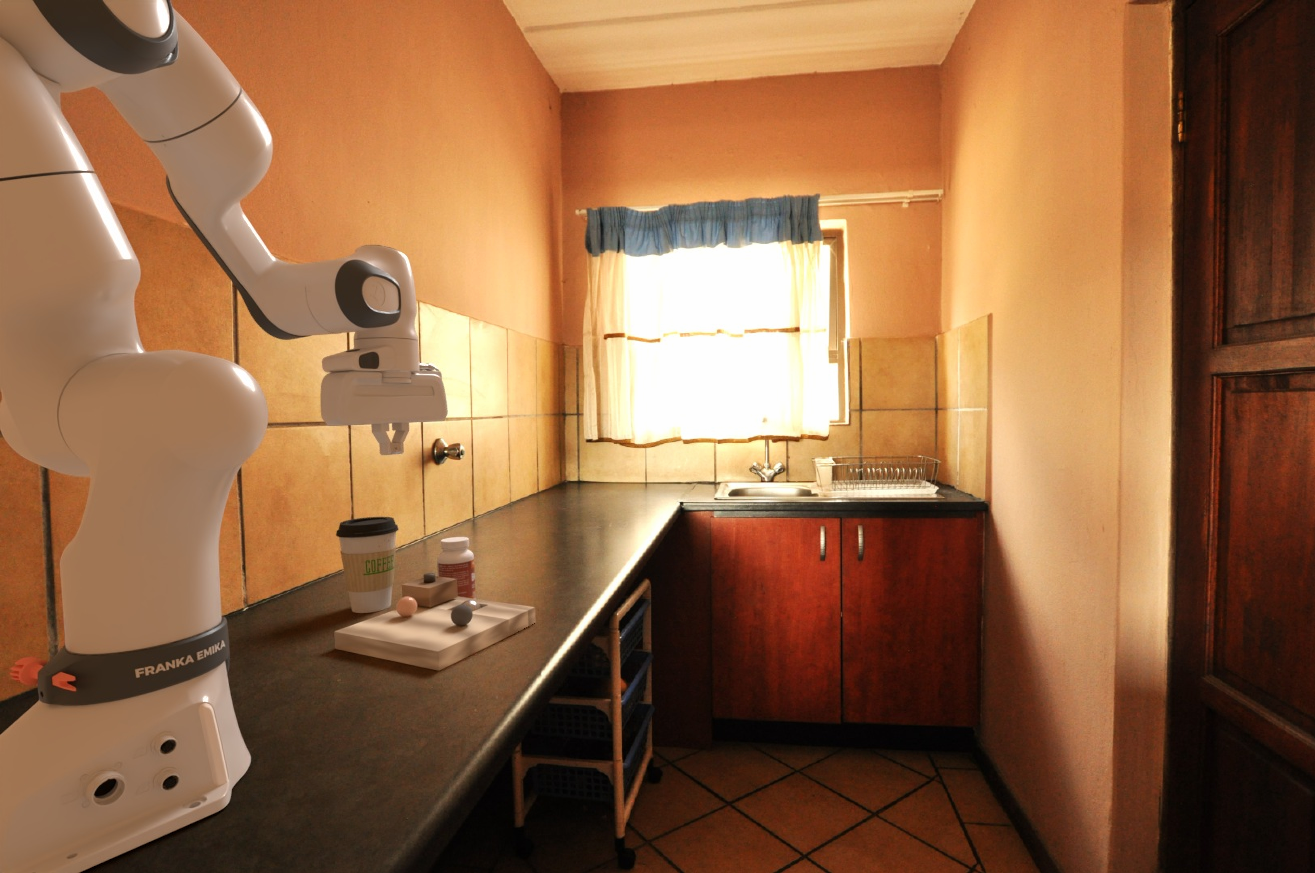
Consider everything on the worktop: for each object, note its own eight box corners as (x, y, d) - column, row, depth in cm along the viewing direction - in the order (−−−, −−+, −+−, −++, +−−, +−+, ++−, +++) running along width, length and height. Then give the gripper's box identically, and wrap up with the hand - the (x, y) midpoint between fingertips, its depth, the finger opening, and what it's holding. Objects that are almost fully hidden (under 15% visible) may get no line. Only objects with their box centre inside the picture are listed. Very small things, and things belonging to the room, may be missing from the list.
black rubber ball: (462, 630, 92) (461, 608, 92) (446, 627, 94) (445, 606, 94) (477, 623, 95) (476, 602, 95) (461, 620, 96) (460, 600, 96)
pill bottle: (480, 602, 114) (478, 539, 113) (444, 609, 111) (441, 544, 110) (469, 594, 119) (467, 534, 119) (434, 601, 116) (432, 538, 115)
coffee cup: (402, 611, 110) (398, 522, 110) (337, 619, 107) (332, 528, 106) (401, 596, 120) (398, 514, 119) (342, 603, 116) (337, 519, 115)
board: (439, 670, 84) (438, 651, 84) (335, 648, 94) (334, 631, 93) (535, 622, 102) (535, 607, 102) (440, 608, 111) (439, 593, 111)
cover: (430, 607, 103) (428, 580, 102) (402, 603, 105) (401, 577, 105) (457, 596, 108) (456, 571, 108) (431, 593, 111) (429, 568, 111)
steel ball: (481, 626, 103) (467, 621, 101) (464, 623, 105) (450, 618, 102) (488, 604, 105) (474, 598, 102) (471, 601, 106) (457, 596, 104)
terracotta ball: (406, 620, 97) (405, 600, 97) (392, 618, 99) (391, 598, 99) (422, 614, 100) (421, 595, 100) (408, 612, 101) (407, 593, 101)
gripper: (425, 365, 108) (429, 449, 108) (310, 358, 89) (316, 460, 90) (454, 363, 105) (458, 449, 105) (341, 356, 87) (347, 460, 87)
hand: (392, 454), depth 98 cm, fingers closed
